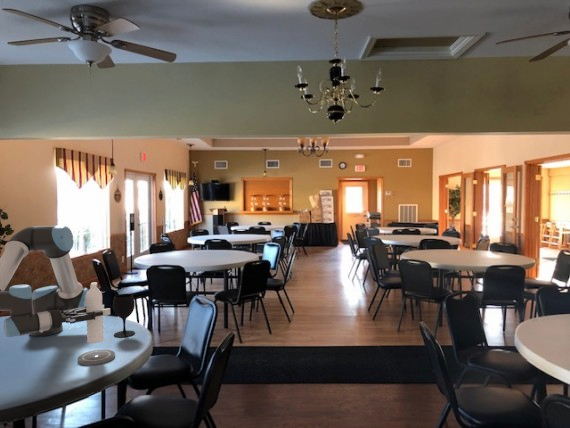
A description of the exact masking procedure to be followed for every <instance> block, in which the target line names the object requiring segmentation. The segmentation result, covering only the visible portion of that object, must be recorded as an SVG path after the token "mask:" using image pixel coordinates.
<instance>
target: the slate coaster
mask: <svg viewBox="0 0 570 428" xmlns="http://www.w3.org/2000/svg"><path fill="white" fill-rule="evenodd" d="M115 358H116V353H115V352H114V351H113V350H112V349H111V350H110V349H95V350H90V351H88V352H83V353H82V354H80V355H79V356H78V357H77V358H76V360H77V364H79V365H81V366H99V365H104V364H107V363H109V362H111V361H112V360H114V359H115Z"/></svg>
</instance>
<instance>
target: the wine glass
mask: <svg viewBox="0 0 570 428" xmlns="http://www.w3.org/2000/svg"><path fill="white" fill-rule="evenodd" d="M135 303H136V302H135V298H134V295H133V294H131V293H121V294H116V295H115V296H114V297H113V301H112V309H113V312H114V314H115V315H116V316H117V318H120V319H121V320H122V325H123V328H122V330H120V331H117V332H115V333H114V334H113V337H114V338H116V339H117V338H118V339H120V338H121V339H123V338H130V337H133V336H134V335H135V334H136V331H134V330H127V329H126V320H127V319H128V318H129V317H130V316H131V315H132V314H133V312H134V311H135V305H136V304H135Z"/></svg>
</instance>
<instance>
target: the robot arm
mask: <svg viewBox="0 0 570 428" xmlns="http://www.w3.org/2000/svg"><path fill="white" fill-rule="evenodd" d="M73 247H74V235H73V232H72V230H71V229H70V227H68V226H65V225H58V224H57V225H31V226H28V227H27V226H26V227H25V228H22V229H20V230H19V231H17V232H16V233H14V234H13V235H12V236H11V237H10V238H9V239H8V240H7V242H6V243H5V245H4V252H3V253H2V254H1V256H0V311H2V312H5V311H9V317H7V318H5V319H4V320H3V331H4V332H3V333H4V335H5V337H6V338H14V337H15V338H16V337H21V336H26V335H30V336H33V337H45V336H46V337H47V336H51V335H56V334H58V333H60V332H62V331H63V329H64V328H63V327H64V326H63V323H66V324H70V325H71V324H75V323H81V322H87V320H93V319H94V320H95V317H100V316H102V317H104V316H109V315H111V308H110V307H109V308H105V304H102V310H96V311H94V312H86V294H87V292H88V291H89V288H87V287H83V284H82V283H81V282H79V281H78V279H77V274H76V272H75V268H74V265H73V262H72V259H71V255H70V252H71V250H72V249H73ZM31 252H43V254H44V257H46V258H47V259H49V261H50V265H51V267H52V269H53V273H54V276H55V279H56V281H57V284H58V285H48V286H43V287H39V288H37V289H34V290H33V291H32V286H31V285H29V284H16V285H12V286H10V287H9V289H8V290H6V289H7V287H8V285H9V284H10V281H11V279H12V278H13V276H14V274H15V272H16V271H17V269H18V267H19V265H20V264H21V262H22V260H23V258H25V257H27V256H28V255H29V253H31Z"/></svg>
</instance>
